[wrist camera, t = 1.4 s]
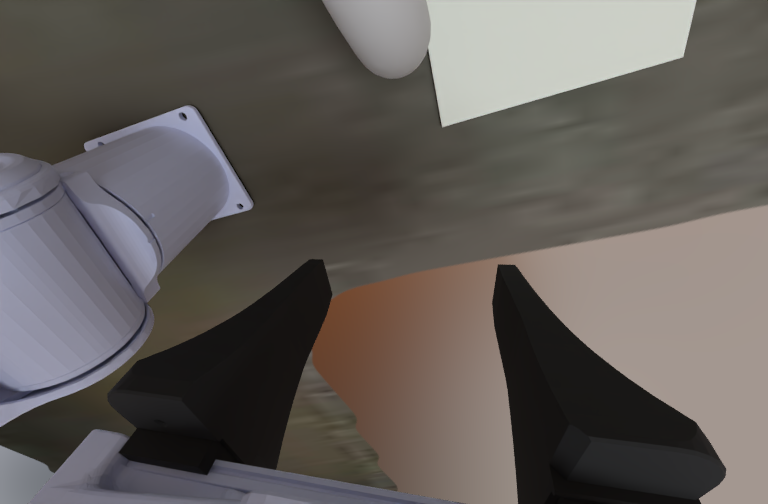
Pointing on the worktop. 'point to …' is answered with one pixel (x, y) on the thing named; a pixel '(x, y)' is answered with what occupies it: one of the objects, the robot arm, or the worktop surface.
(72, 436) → the worktop surface
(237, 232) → the worktop surface
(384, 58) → the donut
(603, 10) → the mat
